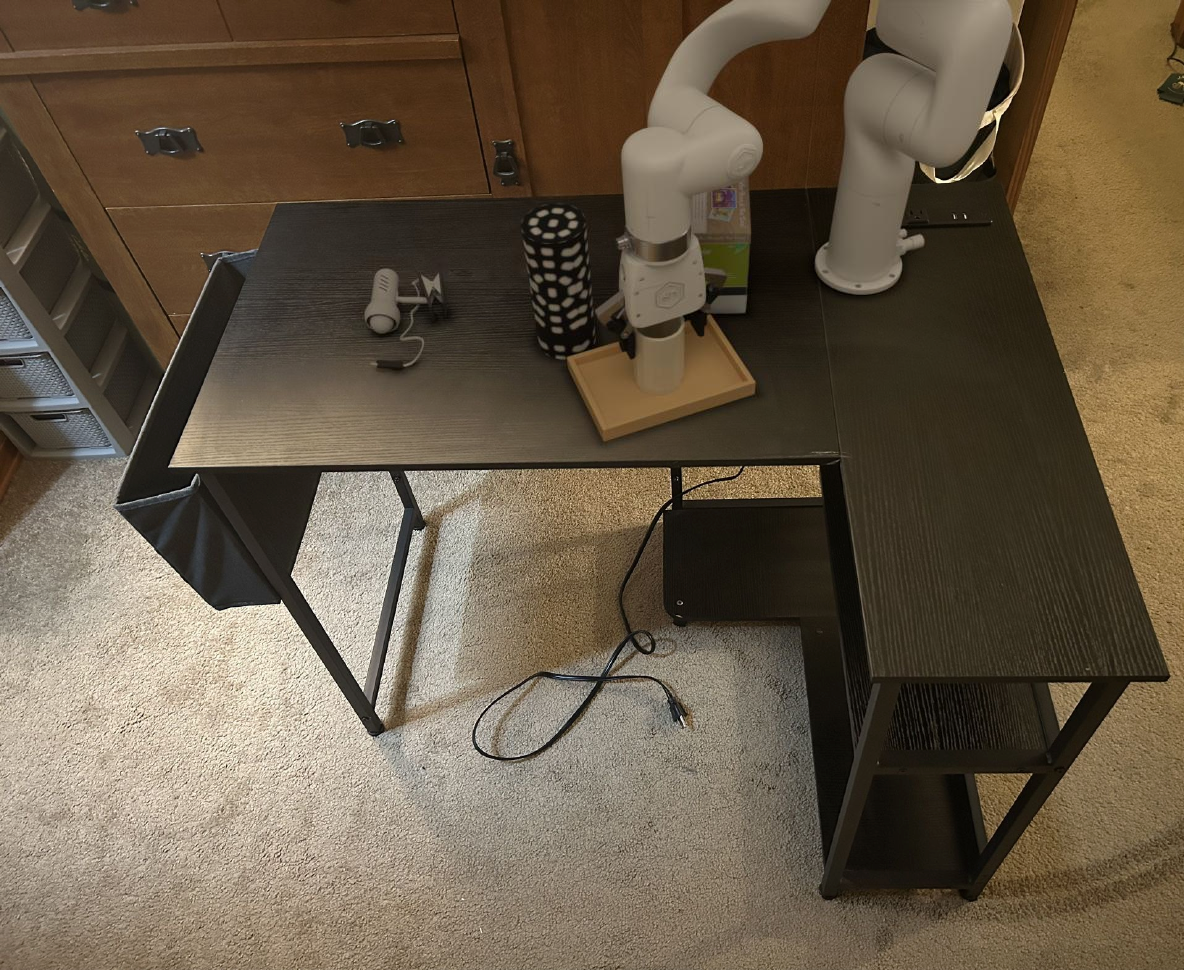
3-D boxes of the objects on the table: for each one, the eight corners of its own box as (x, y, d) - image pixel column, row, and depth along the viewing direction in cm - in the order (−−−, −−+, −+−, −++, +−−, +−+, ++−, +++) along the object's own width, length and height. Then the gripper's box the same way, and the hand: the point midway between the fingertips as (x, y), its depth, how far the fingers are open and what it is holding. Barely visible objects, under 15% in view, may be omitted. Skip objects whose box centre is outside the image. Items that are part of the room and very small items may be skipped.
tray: (709, 326, 132) (710, 313, 130) (754, 394, 124) (755, 382, 122) (567, 368, 129) (566, 357, 127) (603, 442, 120) (602, 430, 118)
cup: (672, 354, 128) (672, 299, 120) (691, 387, 124) (692, 331, 116) (627, 368, 127) (624, 313, 119) (645, 401, 123) (643, 346, 115)
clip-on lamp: (443, 383, 133) (451, 281, 140) (438, 359, 127) (446, 254, 135) (361, 382, 132) (373, 280, 140) (352, 358, 127) (365, 253, 134)
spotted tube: (589, 362, 129) (578, 246, 114) (532, 356, 131) (513, 241, 115) (600, 322, 134) (591, 205, 118) (545, 317, 136) (529, 201, 120)
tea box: (679, 250, 143) (680, 166, 131) (744, 249, 142) (751, 165, 130) (676, 315, 134) (677, 231, 122) (746, 316, 133) (754, 231, 121)
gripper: (600, 276, 104) (611, 380, 117) (740, 232, 106) (735, 339, 120) (578, 237, 108) (591, 342, 122) (713, 196, 111) (712, 304, 124)
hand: (663, 341), depth 121 cm, fingers open, 9 cm apart
